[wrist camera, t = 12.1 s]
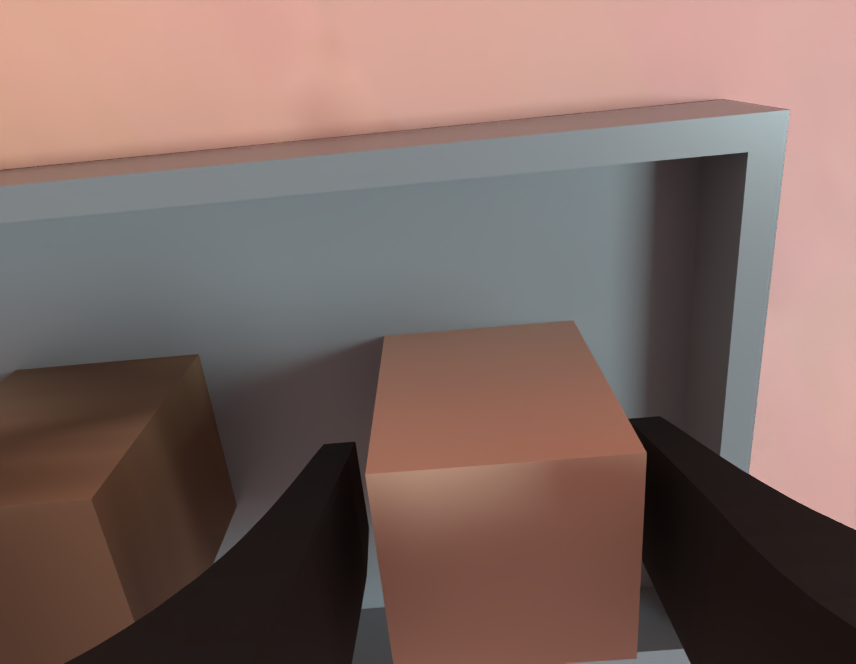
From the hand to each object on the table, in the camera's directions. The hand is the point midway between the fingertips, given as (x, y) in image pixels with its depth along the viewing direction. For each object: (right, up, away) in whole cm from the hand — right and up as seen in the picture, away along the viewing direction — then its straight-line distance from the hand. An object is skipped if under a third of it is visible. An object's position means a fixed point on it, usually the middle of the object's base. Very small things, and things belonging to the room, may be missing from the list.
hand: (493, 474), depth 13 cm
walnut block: (-8, 0, +2) cm, 8 cm away
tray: (-4, +1, +3) cm, 5 cm away
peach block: (0, +1, +2) cm, 2 cm away
